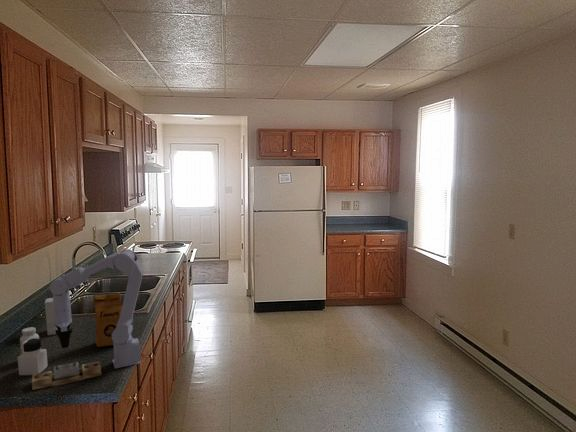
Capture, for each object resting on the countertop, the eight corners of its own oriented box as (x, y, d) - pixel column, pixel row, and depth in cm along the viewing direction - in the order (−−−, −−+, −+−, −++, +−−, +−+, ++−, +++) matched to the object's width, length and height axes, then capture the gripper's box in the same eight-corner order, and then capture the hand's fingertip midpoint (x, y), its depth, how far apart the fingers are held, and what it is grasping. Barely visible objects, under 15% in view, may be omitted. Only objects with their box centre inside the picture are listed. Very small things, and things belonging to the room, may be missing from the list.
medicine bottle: (48, 366, 171) (45, 336, 170) (38, 375, 164) (35, 343, 163) (29, 366, 171) (26, 336, 170) (18, 375, 164) (16, 344, 163)
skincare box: (62, 333, 205) (60, 300, 203) (46, 336, 202) (43, 302, 200) (64, 327, 212) (62, 296, 211) (48, 329, 210) (46, 297, 208)
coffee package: (126, 346, 190) (123, 295, 187) (94, 350, 186) (91, 298, 184) (127, 337, 199) (124, 289, 197) (96, 341, 195) (93, 292, 193)
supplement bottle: (44, 356, 180) (41, 326, 179) (35, 363, 174) (33, 332, 172) (27, 357, 180) (24, 326, 179) (18, 364, 173) (15, 332, 172)
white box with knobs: (79, 374, 165) (78, 360, 164) (79, 379, 161) (78, 364, 160) (54, 379, 161) (53, 364, 160) (54, 384, 157) (53, 369, 157)
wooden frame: (99, 367, 169) (98, 359, 169) (101, 375, 163) (101, 367, 163) (33, 381, 159) (32, 372, 159) (32, 390, 153) (31, 381, 152)
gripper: (50, 305, 172) (52, 339, 174) (50, 316, 159) (53, 352, 161) (70, 302, 175) (72, 335, 177) (72, 313, 163) (74, 348, 164)
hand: (64, 343), depth 169 cm, fingers open, 7 cm apart
